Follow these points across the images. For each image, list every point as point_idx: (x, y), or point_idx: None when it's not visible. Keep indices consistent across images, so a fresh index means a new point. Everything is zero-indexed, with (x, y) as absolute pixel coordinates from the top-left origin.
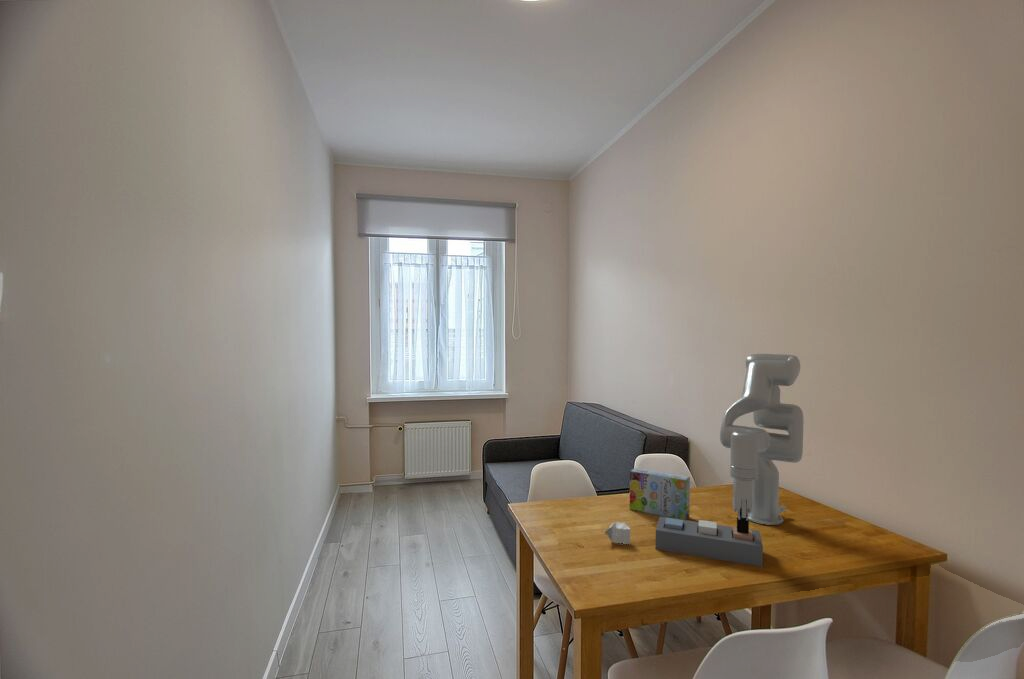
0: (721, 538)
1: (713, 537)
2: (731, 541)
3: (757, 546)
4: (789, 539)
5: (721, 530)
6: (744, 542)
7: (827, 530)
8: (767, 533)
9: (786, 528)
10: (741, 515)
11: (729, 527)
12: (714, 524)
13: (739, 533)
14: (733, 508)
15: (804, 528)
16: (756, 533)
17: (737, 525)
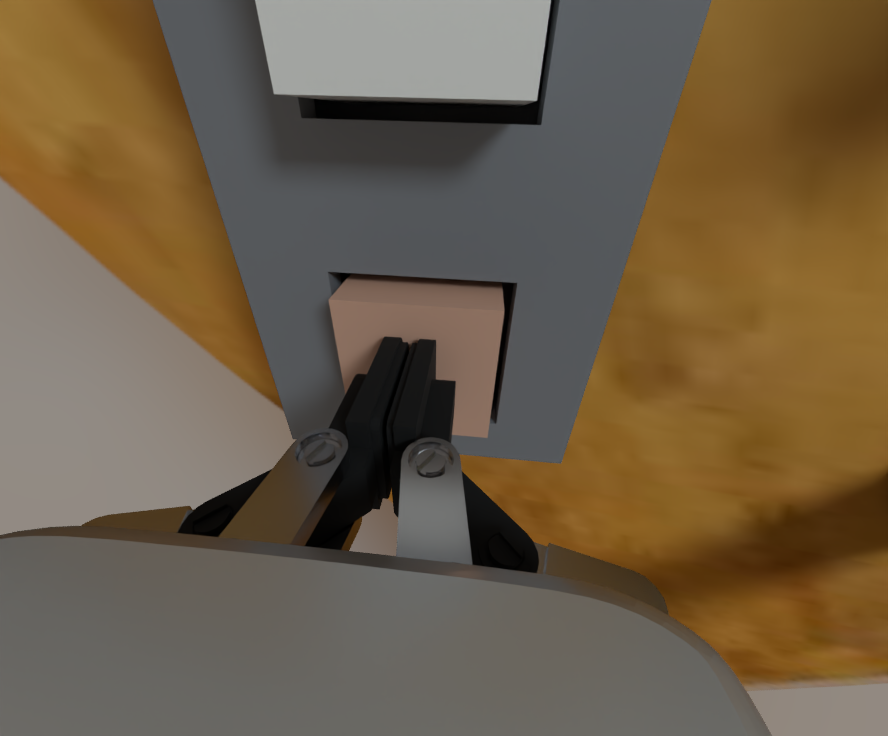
0: (247, 160)
1: (212, 50)
2: (237, 257)
3: (288, 413)
4: (694, 504)
5: (482, 172)
6: (287, 352)
7: (786, 606)
8: (782, 447)
9: (838, 521)
10: (173, 531)
11: (593, 269)
12: (424, 57)
13: (361, 347)
14: (25, 566)
15: (822, 566)
16: (505, 442)
17: (370, 373)
